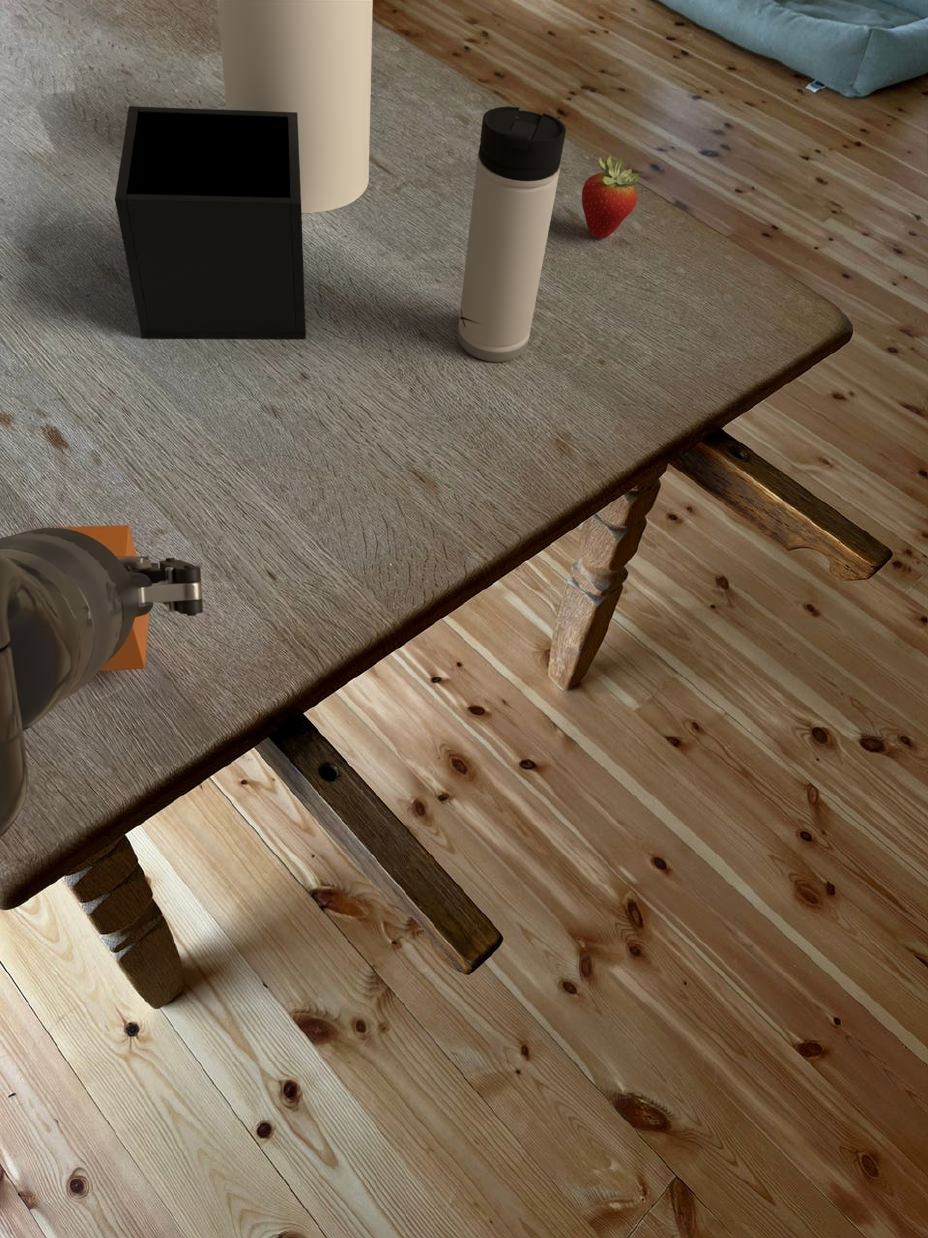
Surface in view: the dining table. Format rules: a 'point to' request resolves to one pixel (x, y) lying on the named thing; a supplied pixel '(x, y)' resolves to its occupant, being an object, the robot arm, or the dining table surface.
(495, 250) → the travel mug
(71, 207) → the dining table surface
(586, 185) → the fruit
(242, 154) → the bin
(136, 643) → the block
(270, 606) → the dining table surface
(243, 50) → the canister
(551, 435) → the dining table surface
